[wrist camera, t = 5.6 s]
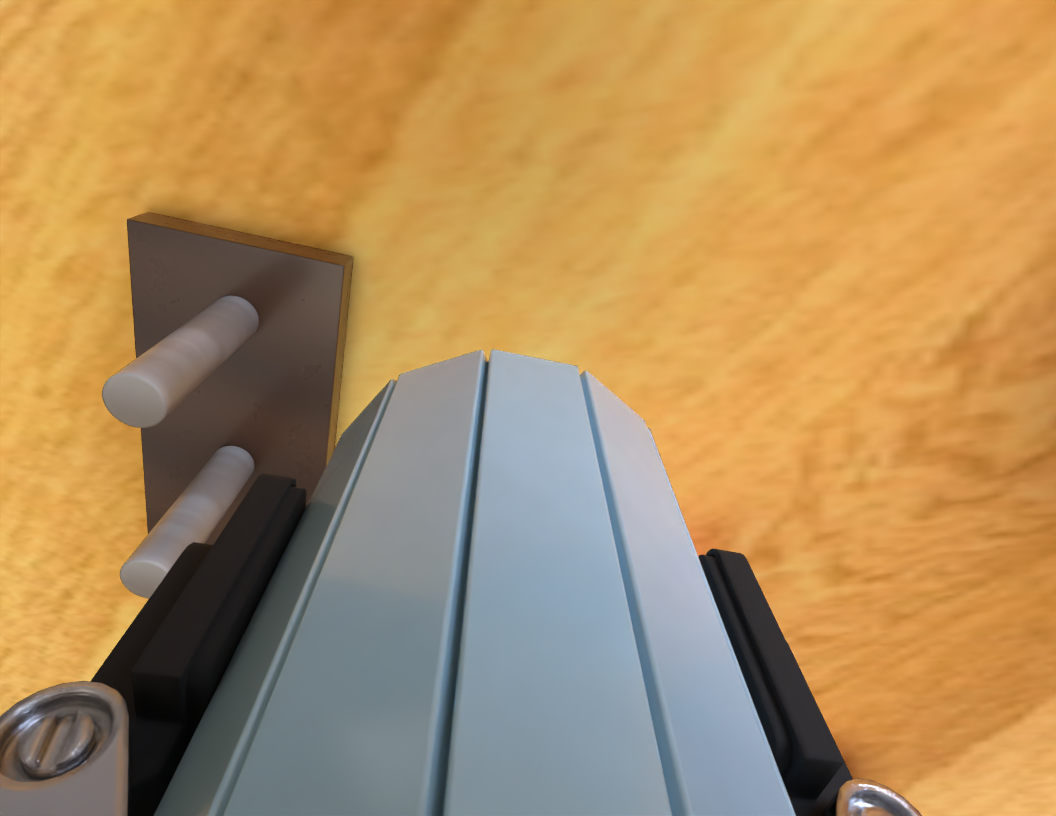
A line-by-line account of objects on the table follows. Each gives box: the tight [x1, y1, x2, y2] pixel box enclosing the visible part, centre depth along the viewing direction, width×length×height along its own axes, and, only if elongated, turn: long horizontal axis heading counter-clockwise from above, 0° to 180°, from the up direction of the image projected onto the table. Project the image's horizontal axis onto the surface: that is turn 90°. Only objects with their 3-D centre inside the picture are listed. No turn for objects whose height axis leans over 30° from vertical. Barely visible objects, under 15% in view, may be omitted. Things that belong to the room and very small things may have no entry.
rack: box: [102, 212, 353, 598], centre depth 25 cm, size 20×8×9 cm, turn 167°
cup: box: [154, 349, 796, 816], centre depth 9 cm, size 7×7×9 cm
